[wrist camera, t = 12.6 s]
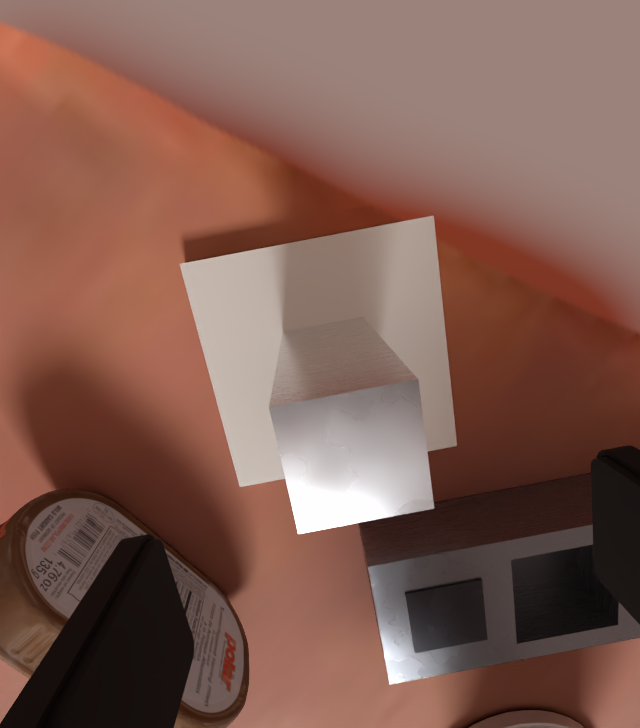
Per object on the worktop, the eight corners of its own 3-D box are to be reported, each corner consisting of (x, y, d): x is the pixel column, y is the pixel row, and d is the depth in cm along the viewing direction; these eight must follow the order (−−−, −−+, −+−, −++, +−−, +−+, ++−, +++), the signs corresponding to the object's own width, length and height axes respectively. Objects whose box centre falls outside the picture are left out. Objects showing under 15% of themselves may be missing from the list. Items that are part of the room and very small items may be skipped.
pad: (450, 438, 24) (457, 445, 23) (242, 477, 24) (239, 487, 23) (427, 216, 21) (433, 215, 20) (185, 263, 21) (179, 264, 20)
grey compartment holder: (683, 564, 27) (748, 619, 23) (376, 622, 27) (390, 686, 23) (690, 454, 25) (764, 493, 21) (357, 517, 25) (368, 568, 21)
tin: (38, 488, 24) (-99, 615, 15) (75, 453, 23) (-45, 565, 15) (229, 639, 27) (200, 807, 19) (265, 611, 27) (251, 771, 19)
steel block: (374, 392, 22) (434, 508, 12) (298, 406, 22) (298, 534, 12) (362, 316, 21) (418, 379, 11) (282, 332, 21) (268, 407, 11)
